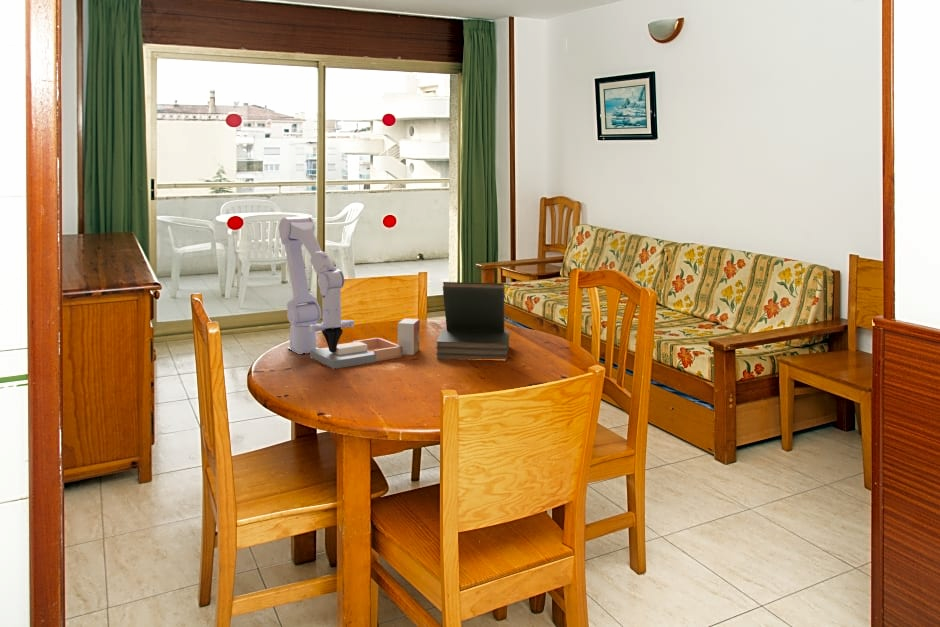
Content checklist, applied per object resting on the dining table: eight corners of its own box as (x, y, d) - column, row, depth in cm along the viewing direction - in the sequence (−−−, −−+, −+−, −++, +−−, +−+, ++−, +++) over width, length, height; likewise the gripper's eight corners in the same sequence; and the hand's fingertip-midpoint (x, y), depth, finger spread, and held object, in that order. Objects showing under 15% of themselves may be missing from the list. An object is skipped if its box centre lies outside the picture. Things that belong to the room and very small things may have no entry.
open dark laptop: (509, 347, 273) (511, 275, 268) (507, 362, 253) (509, 285, 248) (442, 345, 274) (443, 273, 269) (435, 360, 255) (436, 283, 250)
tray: (352, 351, 263) (352, 341, 262) (378, 347, 269) (378, 337, 268) (375, 361, 251) (375, 350, 250) (402, 356, 257) (402, 346, 256)
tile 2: (345, 349, 255) (345, 343, 255) (359, 347, 258) (359, 341, 258) (353, 352, 251) (353, 346, 251) (367, 350, 254) (367, 344, 254)
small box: (413, 355, 259) (413, 323, 257) (397, 354, 260) (397, 323, 258) (419, 349, 267) (420, 318, 265) (403, 348, 268) (403, 318, 266)
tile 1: (331, 351, 252) (331, 345, 252) (345, 349, 255) (345, 343, 255) (339, 354, 249) (338, 348, 248) (353, 352, 251) (353, 346, 251)
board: (310, 357, 254) (310, 350, 254) (351, 351, 263) (351, 343, 263) (333, 368, 242) (333, 361, 241) (376, 361, 251) (376, 354, 250)
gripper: (315, 313, 240) (316, 357, 242) (358, 308, 248) (359, 351, 251) (305, 309, 245) (306, 352, 248) (347, 305, 254) (348, 346, 256)
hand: (332, 351), depth 250 cm, fingers closed
